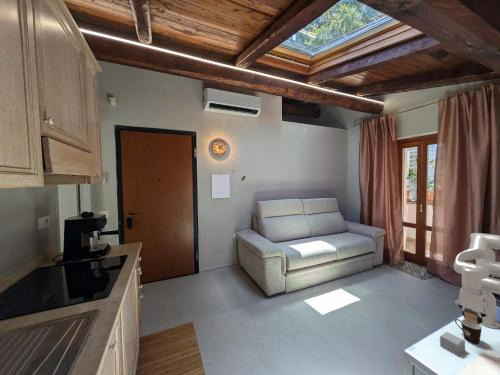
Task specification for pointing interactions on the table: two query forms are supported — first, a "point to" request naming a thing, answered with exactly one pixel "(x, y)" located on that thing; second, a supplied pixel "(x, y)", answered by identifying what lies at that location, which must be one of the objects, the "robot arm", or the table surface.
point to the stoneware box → (452, 343)
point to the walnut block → (471, 316)
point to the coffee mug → (470, 331)
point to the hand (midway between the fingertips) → (472, 319)
